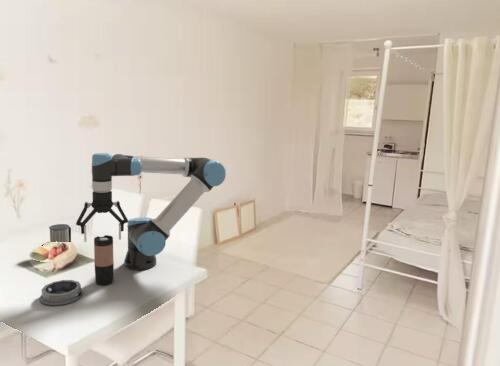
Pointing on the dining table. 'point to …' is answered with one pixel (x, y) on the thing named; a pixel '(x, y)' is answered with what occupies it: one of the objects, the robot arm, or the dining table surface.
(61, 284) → the collar
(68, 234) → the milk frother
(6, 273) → the dining table surface
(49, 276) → the dining table surface
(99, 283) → the travel mug
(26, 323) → the dining table surface
